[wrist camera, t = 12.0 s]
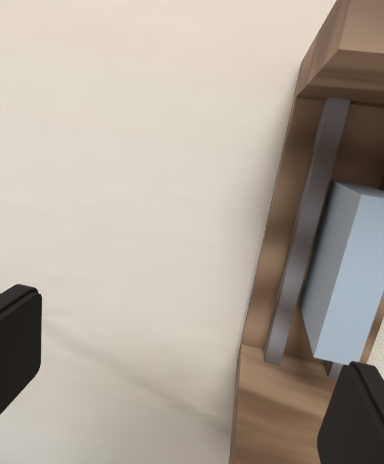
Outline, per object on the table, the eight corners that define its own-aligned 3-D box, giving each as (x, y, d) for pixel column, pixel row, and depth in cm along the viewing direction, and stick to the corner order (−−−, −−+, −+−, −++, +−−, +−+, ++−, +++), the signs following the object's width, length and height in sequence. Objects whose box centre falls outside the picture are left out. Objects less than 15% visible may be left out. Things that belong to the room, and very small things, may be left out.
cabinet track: (349, 386, 33) (424, 578, 19) (237, 358, 35) (224, 514, 20) (460, 77, 24) (769, -21, 10) (301, 61, 26) (361, -44, 11)
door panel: (331, 310, 30) (357, 367, 22) (299, 303, 30) (313, 357, 23) (368, 185, 26) (414, 202, 19) (331, 180, 27) (361, 194, 19)
